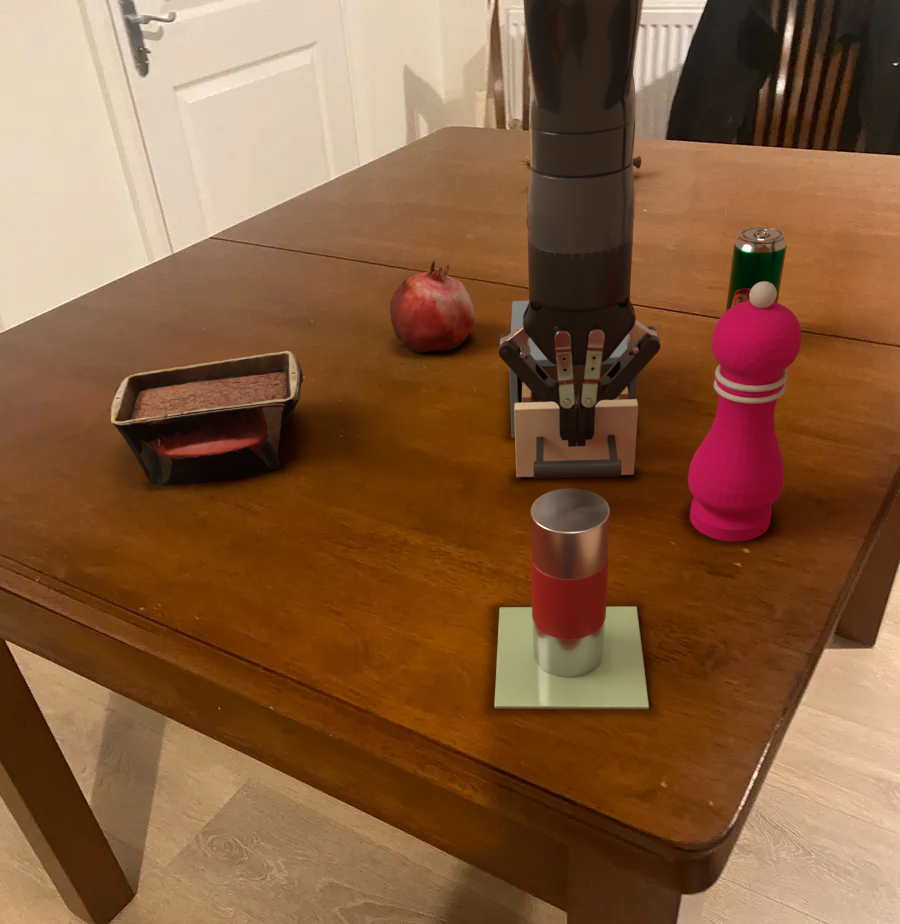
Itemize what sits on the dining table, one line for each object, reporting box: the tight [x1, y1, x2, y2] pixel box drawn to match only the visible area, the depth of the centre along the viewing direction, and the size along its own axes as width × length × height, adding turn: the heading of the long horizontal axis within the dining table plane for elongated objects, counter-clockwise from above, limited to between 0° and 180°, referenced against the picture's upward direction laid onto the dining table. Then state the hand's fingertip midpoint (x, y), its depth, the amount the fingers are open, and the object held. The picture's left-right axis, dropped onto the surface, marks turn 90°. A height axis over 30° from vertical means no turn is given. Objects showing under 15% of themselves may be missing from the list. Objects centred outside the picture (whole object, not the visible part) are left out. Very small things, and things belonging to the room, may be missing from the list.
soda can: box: [725, 226, 788, 312], centre depth 95 cm, size 5×5×12 cm
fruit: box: [389, 259, 476, 354], centre depth 101 cm, size 9×10×10 cm
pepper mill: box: [687, 281, 803, 542], centre depth 68 cm, size 7×7×20 cm
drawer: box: [514, 364, 639, 480], centre depth 81 cm, size 18×10×7 cm, turn 176°
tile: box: [493, 605, 650, 710], centre depth 64 cm, size 10×10×1 cm
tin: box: [529, 487, 611, 677], centre depth 60 cm, size 5×5×12 cm
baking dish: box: [108, 350, 304, 487], centre depth 87 cm, size 14×18×10 cm
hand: (576, 441), depth 77 cm, fingers closed
